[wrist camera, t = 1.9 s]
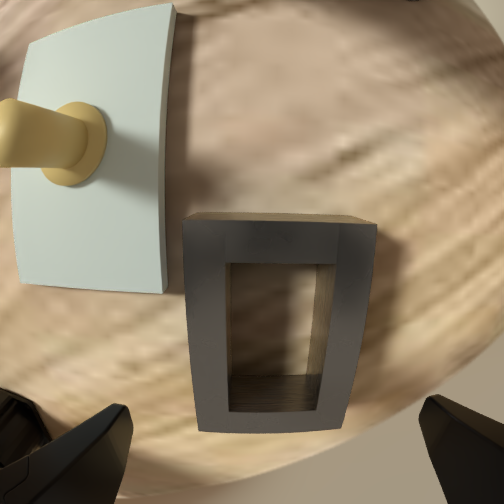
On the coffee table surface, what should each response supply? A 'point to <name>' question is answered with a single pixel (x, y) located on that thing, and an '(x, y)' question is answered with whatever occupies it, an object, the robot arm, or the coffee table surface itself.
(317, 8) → the coffee table surface
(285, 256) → the link
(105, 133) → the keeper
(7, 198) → the coffee table surface
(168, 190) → the coffee table surface
